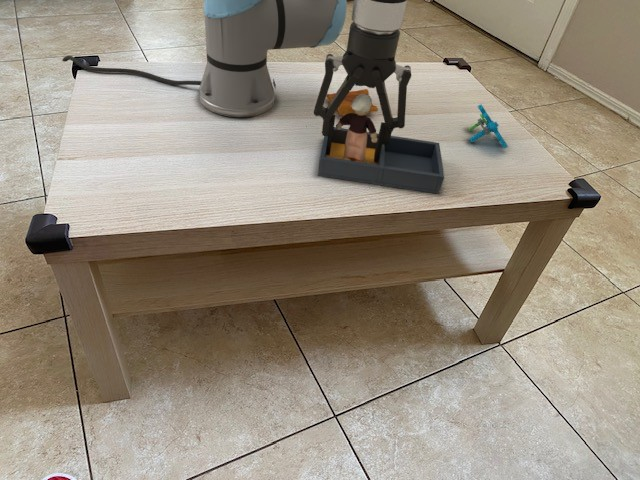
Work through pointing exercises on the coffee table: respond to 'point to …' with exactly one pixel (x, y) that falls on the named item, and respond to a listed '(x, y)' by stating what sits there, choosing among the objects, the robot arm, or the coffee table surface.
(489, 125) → the blue green toy windmill
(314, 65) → the coffee table surface
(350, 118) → the grandmother figurine
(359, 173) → the divided tray
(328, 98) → the pottery fragment
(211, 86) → the robot arm
